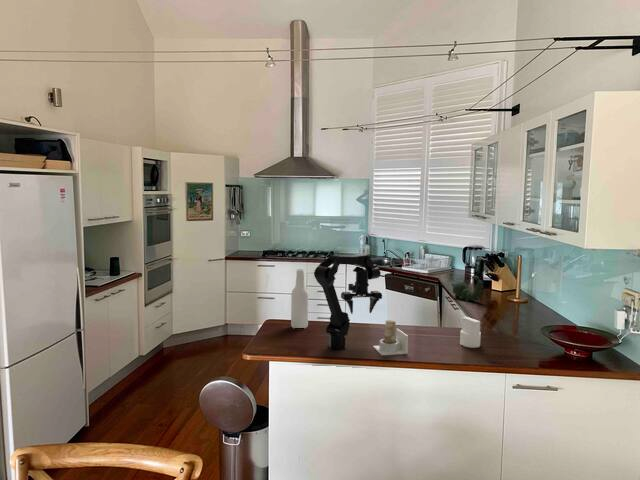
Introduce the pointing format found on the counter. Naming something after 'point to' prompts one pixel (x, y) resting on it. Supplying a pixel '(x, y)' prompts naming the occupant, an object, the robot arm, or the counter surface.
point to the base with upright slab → (470, 332)
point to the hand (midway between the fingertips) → (361, 313)
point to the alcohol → (299, 302)
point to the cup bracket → (394, 345)
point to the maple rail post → (389, 332)
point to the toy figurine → (465, 293)
